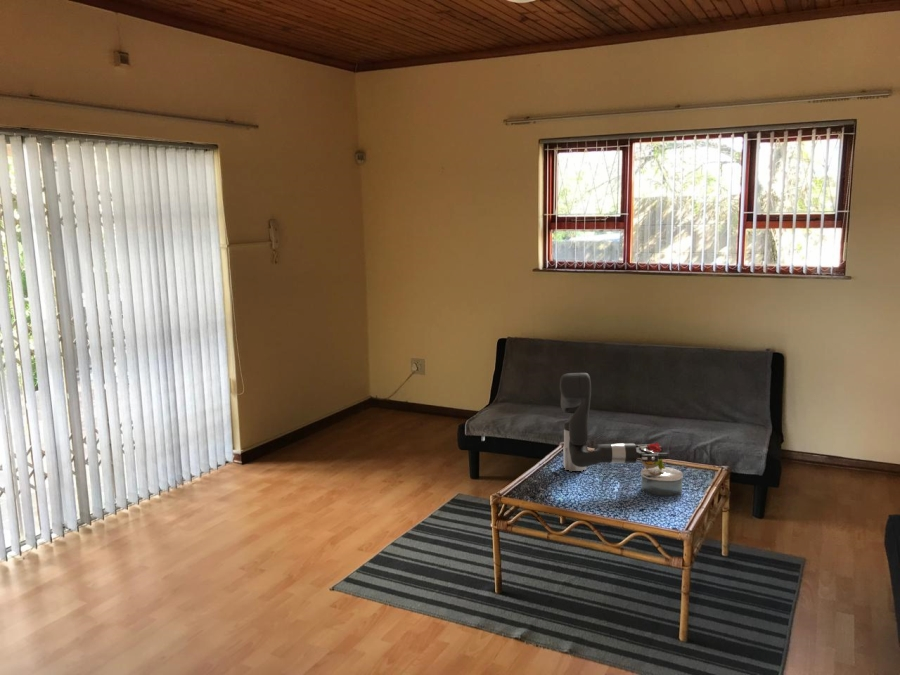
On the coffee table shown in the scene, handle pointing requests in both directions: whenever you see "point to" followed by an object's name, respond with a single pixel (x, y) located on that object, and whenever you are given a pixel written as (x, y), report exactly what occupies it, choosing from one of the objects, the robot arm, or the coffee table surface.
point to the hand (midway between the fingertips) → (665, 452)
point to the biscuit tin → (661, 481)
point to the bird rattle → (655, 449)
